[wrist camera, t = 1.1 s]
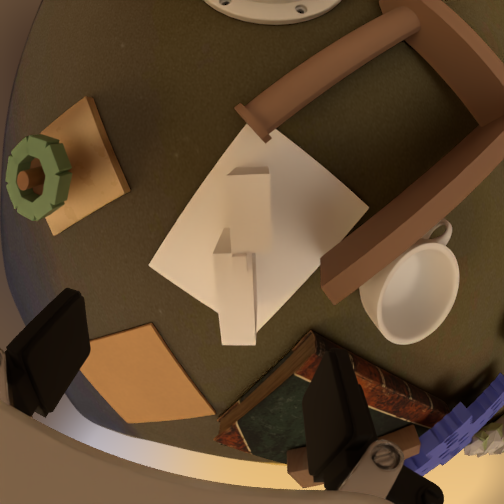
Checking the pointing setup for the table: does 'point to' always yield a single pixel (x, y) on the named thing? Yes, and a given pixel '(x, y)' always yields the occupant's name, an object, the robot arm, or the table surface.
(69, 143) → the ring peg
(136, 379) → the cork mat
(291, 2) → the robot arm
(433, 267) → the teacup
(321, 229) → the napkin holder
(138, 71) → the table surface
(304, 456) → the wooden block
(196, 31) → the table surface
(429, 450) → the blue perforated plate
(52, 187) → the ring
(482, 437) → the decorative object
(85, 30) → the table surface
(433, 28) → the toilet paper hanger
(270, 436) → the book
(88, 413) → the table surface
